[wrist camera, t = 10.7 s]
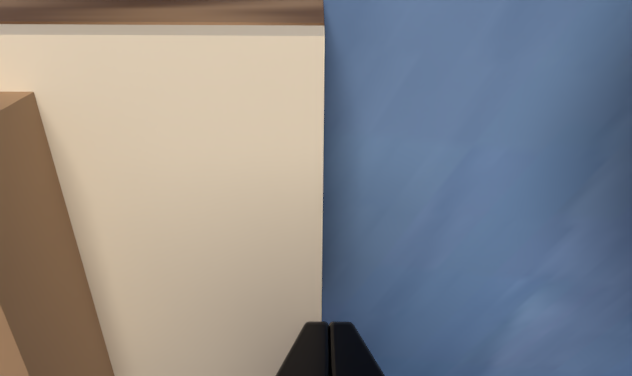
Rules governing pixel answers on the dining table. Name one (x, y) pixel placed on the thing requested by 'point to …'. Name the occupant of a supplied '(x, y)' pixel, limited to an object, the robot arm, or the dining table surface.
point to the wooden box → (163, 12)
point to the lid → (159, 197)
